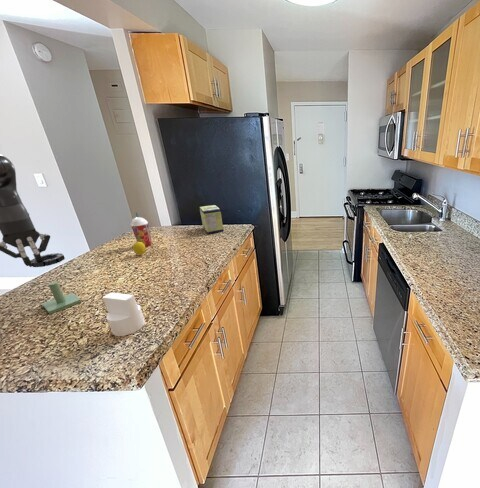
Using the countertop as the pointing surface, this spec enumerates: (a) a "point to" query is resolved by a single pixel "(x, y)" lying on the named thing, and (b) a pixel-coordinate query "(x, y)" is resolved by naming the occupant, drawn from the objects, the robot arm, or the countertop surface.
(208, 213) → the protein box
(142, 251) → the lemon
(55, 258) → the ring
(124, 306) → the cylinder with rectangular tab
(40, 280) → the countertop surface
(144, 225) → the smoothie
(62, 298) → the post
